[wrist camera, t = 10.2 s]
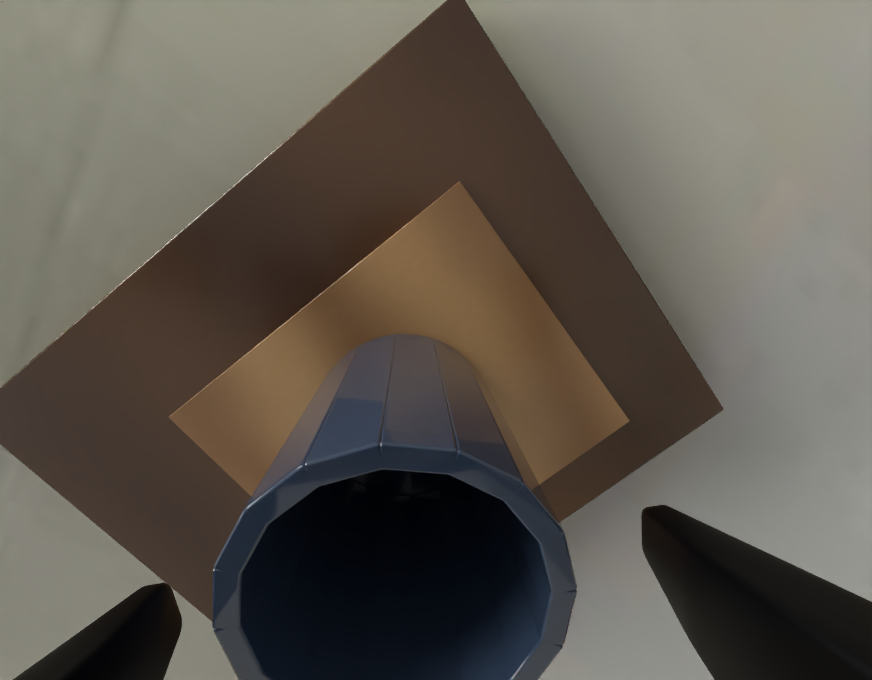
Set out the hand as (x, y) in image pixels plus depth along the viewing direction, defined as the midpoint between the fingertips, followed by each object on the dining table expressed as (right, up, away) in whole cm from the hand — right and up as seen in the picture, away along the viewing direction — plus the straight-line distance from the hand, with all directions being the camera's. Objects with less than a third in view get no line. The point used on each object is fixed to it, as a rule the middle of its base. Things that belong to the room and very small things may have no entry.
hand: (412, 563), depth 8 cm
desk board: (-2, +2, +8) cm, 8 cm away
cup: (-1, +2, +6) cm, 7 cm away
